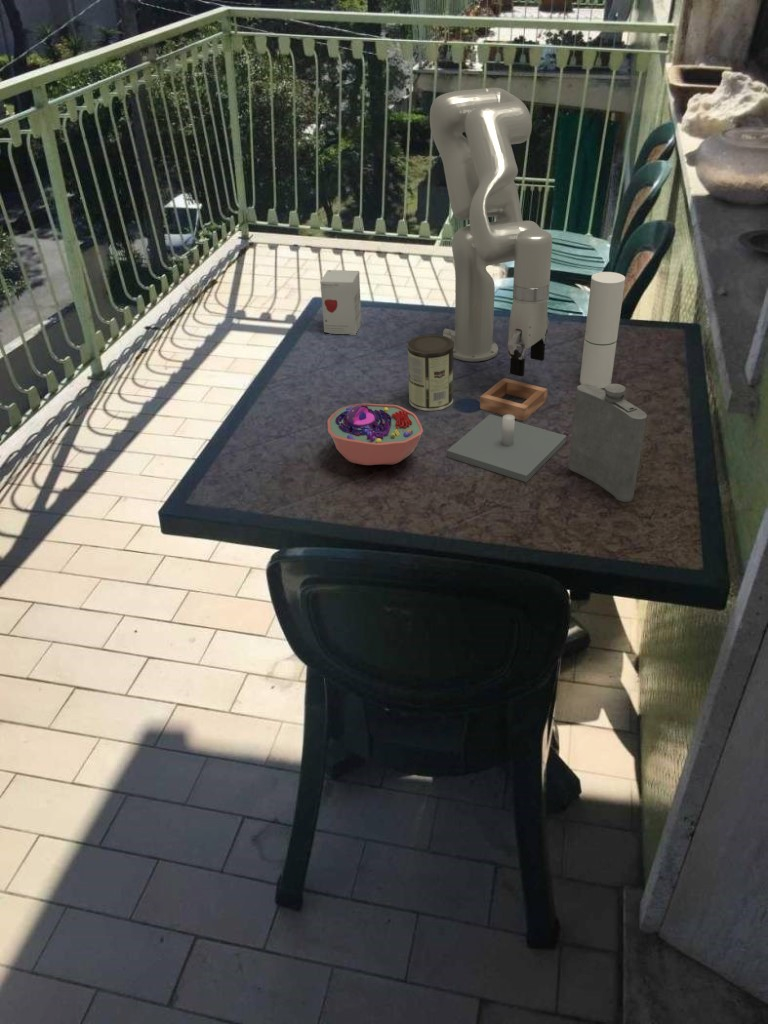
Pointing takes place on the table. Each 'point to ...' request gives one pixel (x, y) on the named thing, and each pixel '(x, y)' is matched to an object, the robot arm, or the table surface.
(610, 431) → the hip flask
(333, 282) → the supplement box
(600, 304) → the cylindrical container
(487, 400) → the ring
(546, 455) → the stand
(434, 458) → the table surface
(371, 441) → the cell model
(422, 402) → the coffee can
